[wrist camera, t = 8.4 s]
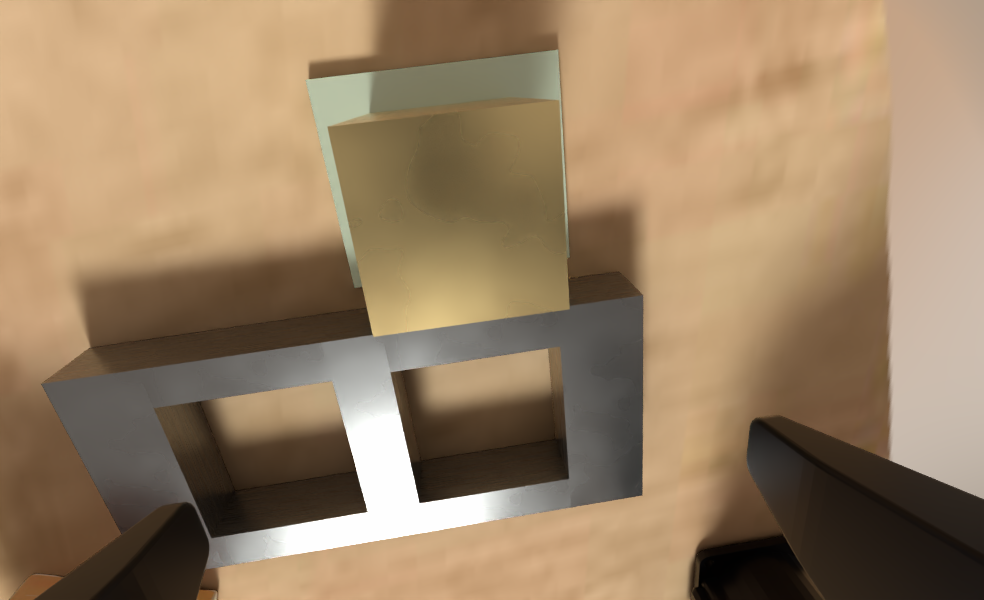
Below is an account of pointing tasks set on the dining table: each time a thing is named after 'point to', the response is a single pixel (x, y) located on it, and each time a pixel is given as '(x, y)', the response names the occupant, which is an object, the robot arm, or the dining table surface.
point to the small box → (42, 582)
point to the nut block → (456, 211)
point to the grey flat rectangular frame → (359, 424)
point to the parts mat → (426, 102)
